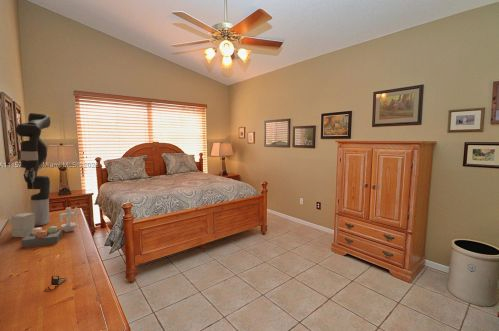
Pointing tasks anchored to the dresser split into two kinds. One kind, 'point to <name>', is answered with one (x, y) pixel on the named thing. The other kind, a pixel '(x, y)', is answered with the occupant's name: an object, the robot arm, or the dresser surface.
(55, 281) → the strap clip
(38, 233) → the brown egg
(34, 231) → the white egg
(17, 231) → the supplement box
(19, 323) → the dresser surface
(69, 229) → the figurine
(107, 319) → the dresser surface
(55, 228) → the green egg
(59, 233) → the grey square tray
